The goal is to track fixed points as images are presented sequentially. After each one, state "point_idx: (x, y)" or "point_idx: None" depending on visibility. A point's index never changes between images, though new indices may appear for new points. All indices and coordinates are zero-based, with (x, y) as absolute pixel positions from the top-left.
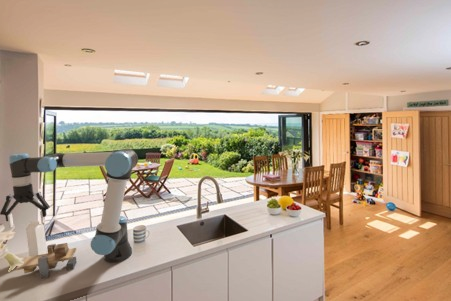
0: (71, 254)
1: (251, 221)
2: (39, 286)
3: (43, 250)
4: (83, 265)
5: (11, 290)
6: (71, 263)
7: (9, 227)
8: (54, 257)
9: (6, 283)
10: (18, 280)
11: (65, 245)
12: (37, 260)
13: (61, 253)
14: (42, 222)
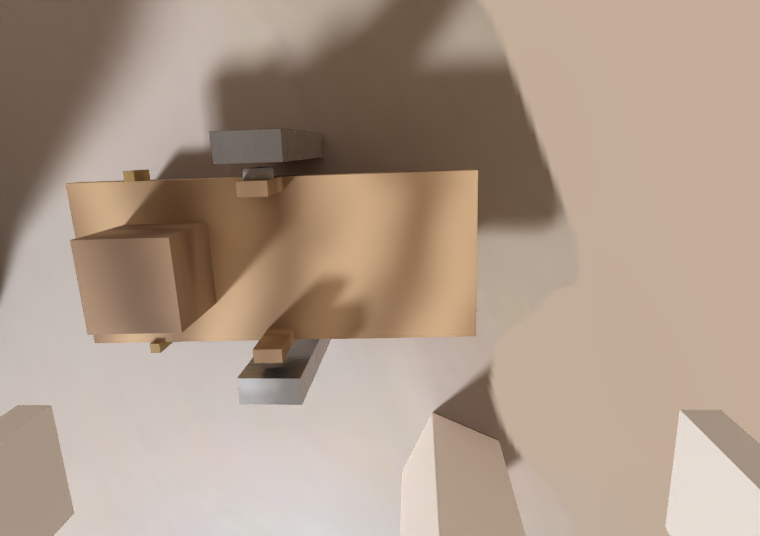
0: (84, 230)
1: None
2: (293, 43)
3: (413, 477)
4: None
5: (465, 56)
6: None
7: (724, 418)
8: (216, 234)
9: (535, 164)
10: None
11: (77, 274)
12: (346, 238)
13: (139, 228)
14: (4, 422)
